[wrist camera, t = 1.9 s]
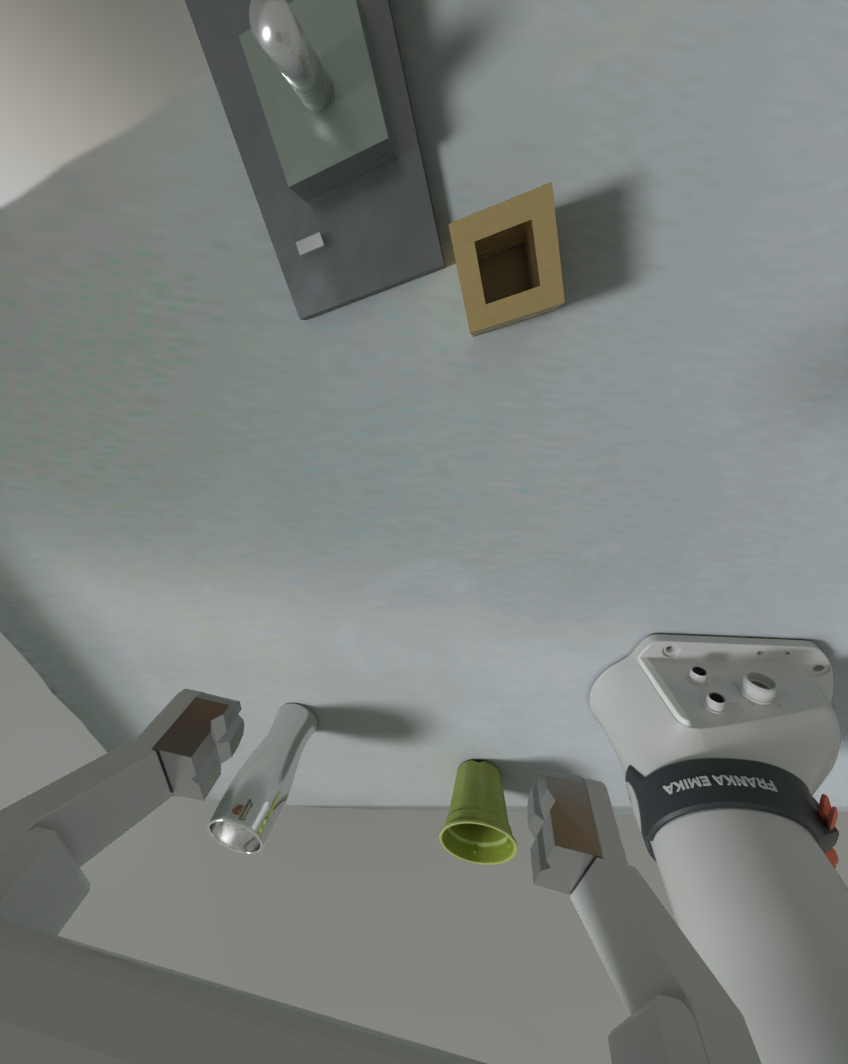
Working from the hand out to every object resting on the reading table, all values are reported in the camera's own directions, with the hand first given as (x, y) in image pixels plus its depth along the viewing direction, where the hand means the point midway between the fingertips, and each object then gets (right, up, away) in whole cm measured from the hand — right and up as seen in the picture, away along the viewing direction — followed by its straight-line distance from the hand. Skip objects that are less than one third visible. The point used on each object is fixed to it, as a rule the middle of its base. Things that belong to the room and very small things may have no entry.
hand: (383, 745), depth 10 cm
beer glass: (-17, -21, +44) cm, 52 cm away
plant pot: (+9, -29, +43) cm, 52 cm away
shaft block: (-5, +33, +15) cm, 37 cm away
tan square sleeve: (+7, +24, +17) cm, 31 cm away
